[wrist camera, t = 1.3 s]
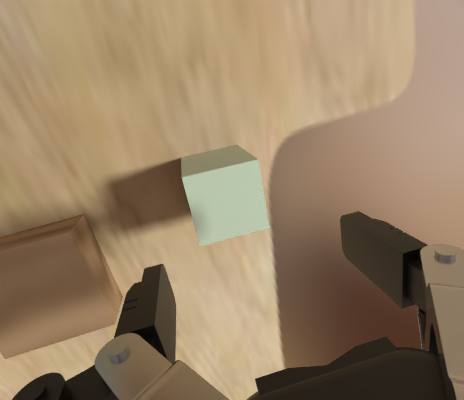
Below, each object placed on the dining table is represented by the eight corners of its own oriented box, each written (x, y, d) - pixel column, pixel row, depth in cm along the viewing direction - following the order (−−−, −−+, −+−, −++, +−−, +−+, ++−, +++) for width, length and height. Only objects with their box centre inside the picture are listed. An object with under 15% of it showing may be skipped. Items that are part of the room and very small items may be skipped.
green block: (180, 157, 24) (181, 177, 17) (237, 144, 24) (258, 159, 18) (194, 210, 26) (200, 246, 19) (247, 197, 26) (269, 228, 20)
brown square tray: (-23, 242, 23) (-60, 268, 20) (85, 212, 24) (69, 232, 21) (29, 323, 27) (5, 359, 23) (123, 294, 27) (114, 324, 24)
